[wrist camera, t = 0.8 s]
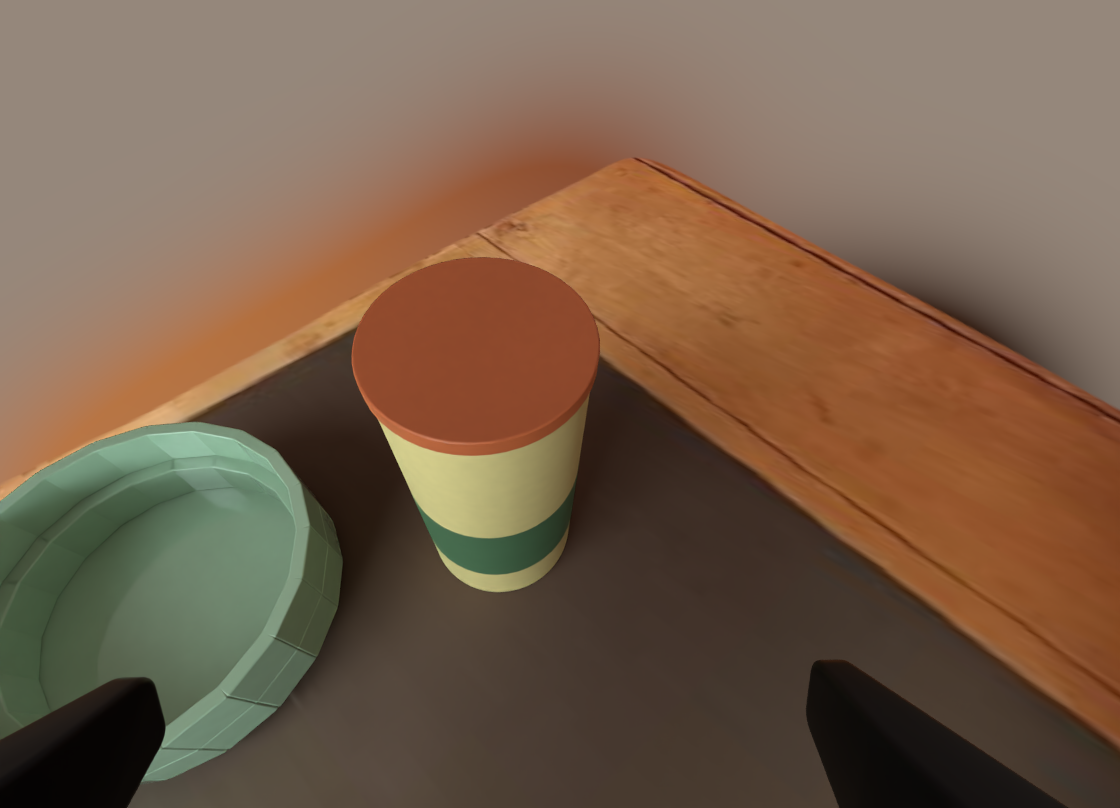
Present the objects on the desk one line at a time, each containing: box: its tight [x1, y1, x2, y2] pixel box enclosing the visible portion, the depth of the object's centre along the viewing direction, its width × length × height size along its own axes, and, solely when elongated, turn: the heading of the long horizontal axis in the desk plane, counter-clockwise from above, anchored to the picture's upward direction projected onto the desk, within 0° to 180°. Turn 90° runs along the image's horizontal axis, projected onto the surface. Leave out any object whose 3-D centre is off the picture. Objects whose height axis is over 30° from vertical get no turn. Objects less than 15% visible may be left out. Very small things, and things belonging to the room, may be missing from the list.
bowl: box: [0, 422, 343, 784], centre depth 19 cm, size 12×12×4 cm
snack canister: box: [352, 257, 600, 592], centre depth 18 cm, size 6×6×13 cm
